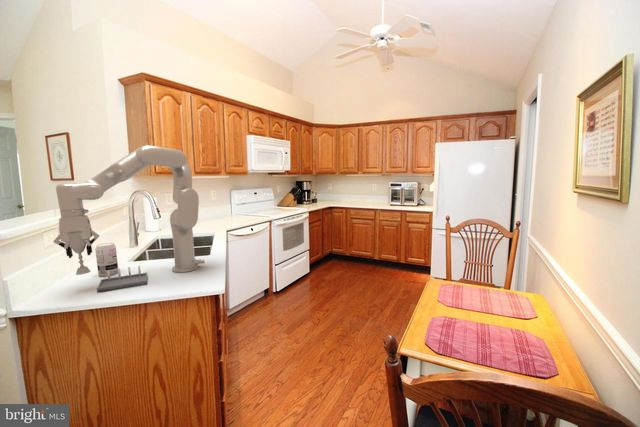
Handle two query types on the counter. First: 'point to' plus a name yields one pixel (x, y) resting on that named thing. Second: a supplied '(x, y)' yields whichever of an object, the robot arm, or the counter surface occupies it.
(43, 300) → the counter surface
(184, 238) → the robot arm
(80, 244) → the chalice
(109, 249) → the supplement can
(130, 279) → the drying rack
